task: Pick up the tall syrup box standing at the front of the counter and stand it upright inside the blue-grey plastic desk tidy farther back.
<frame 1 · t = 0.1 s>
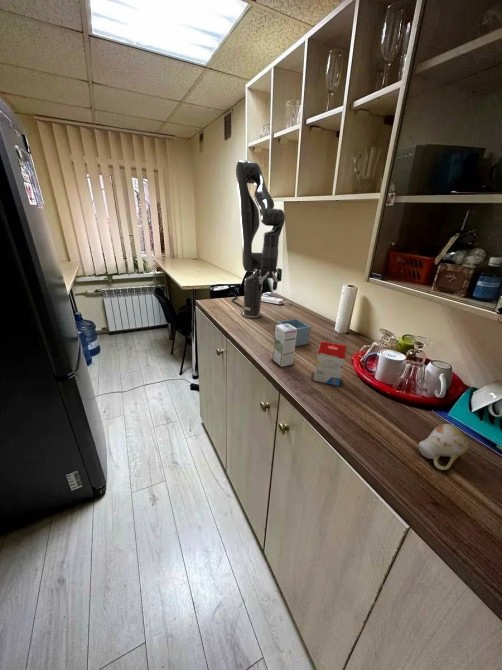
hand: (266, 290, 132), 17 cm above the table, tool pointing down, fingers open, 8 cm apart
mug: (437, 455, 65), on the table
ink box: (326, 380, 93), on the table
tidy: (291, 340, 121), on the table
syrup box: (282, 362, 102), on the table
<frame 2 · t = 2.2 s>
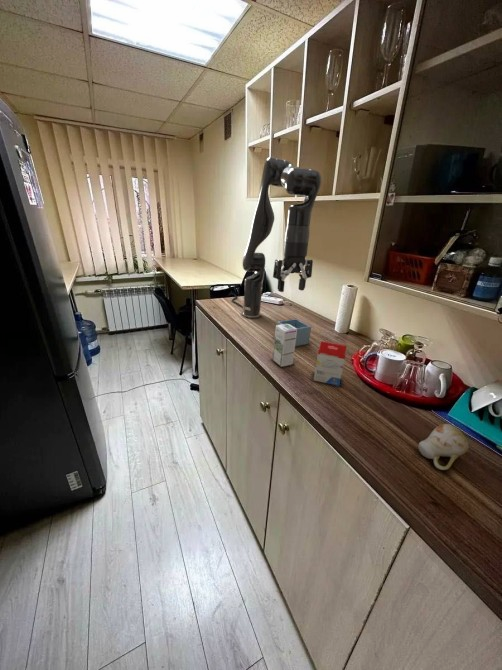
hand: (291, 290, 93), 27 cm above the table, tool pointing down, fingers open, 8 cm apart
nothing on the table moved.
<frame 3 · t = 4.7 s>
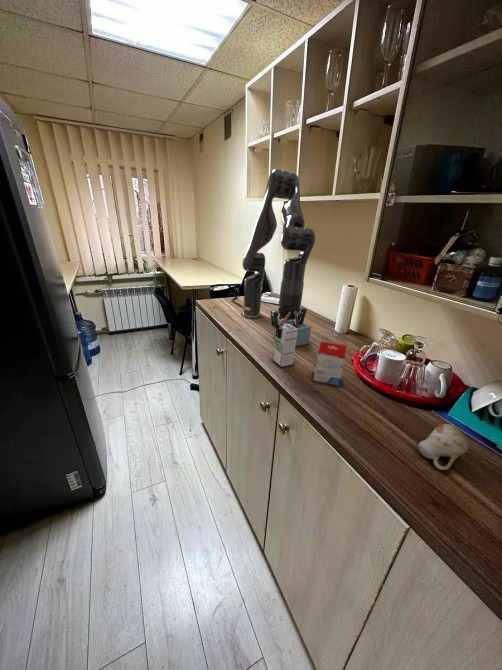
hand: (285, 336, 98), 11 cm above the table, tool pointing down, fingers closed on syrup box, 5 cm apart
syrup box: (282, 362, 102), on the table, touching gripper
everything else where it was.
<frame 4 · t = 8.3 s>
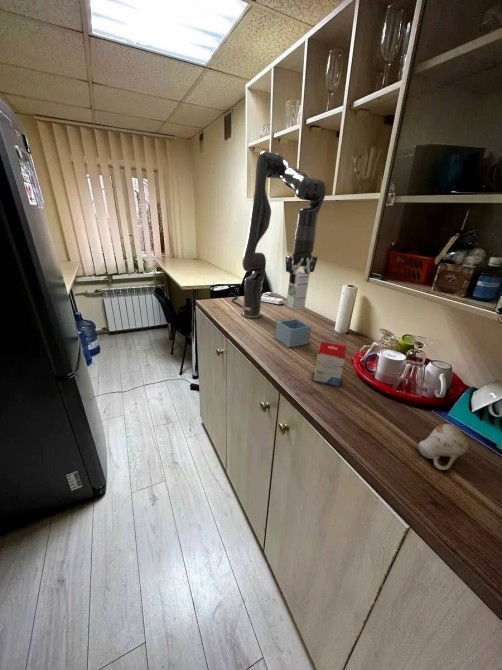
hand: (298, 282, 109), 26 cm above the table, tool pointing down, fingers closed on syrup box, 5 cm apart
syrup box: (294, 308, 114), point 16 cm above the table, touching gripper
everything else where it was.
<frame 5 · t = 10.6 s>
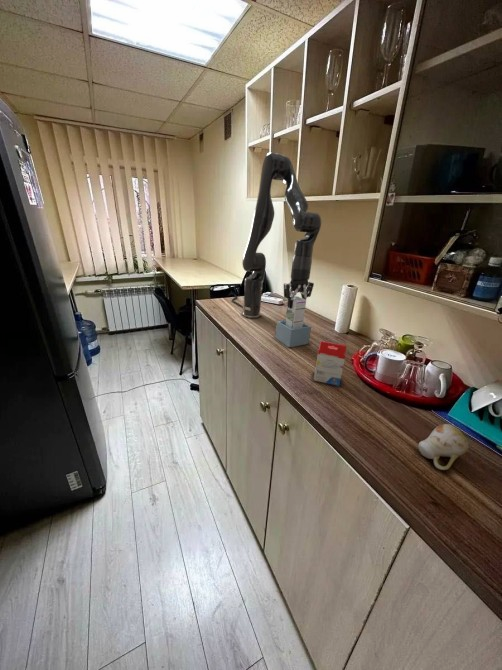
hand: (296, 307, 115), 16 cm above the table, tool pointing down, fingers closed on syrup box, 5 cm apart
syrup box: (292, 330, 119), point 5 cm above the table, touching gripper
everything else where it was.
when the fingers open (12 cm above the table, at t = 12.3 s): syrup box stays where it is, resting on tidy.
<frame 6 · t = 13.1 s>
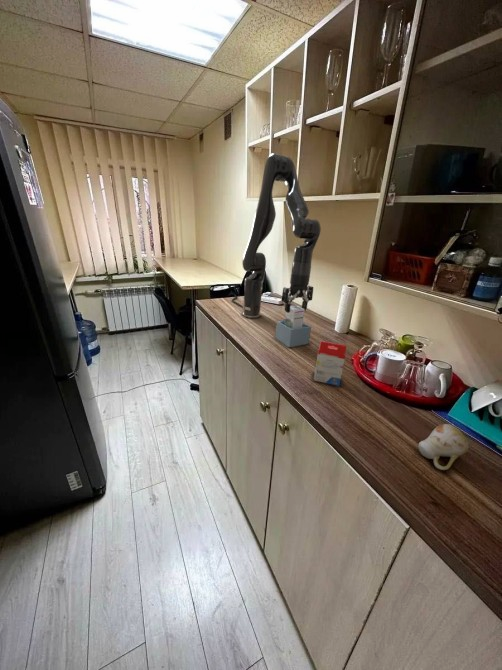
hand: (295, 311, 116), 14 cm above the table, tool pointing down, fingers open, 8 cm apart
syrup box: (291, 339, 121), point 1 cm above the table, touching tidy
everything else where it was.
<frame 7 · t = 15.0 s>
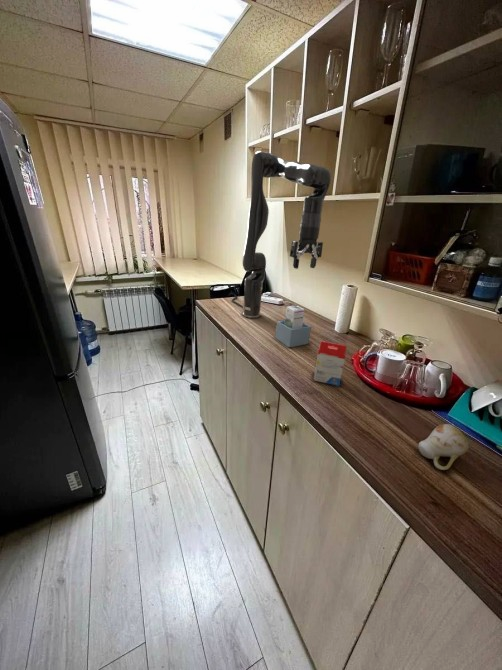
hand: (304, 268, 112), 31 cm above the table, tool pointing down, fingers open, 8 cm apart
nothing on the table moved.
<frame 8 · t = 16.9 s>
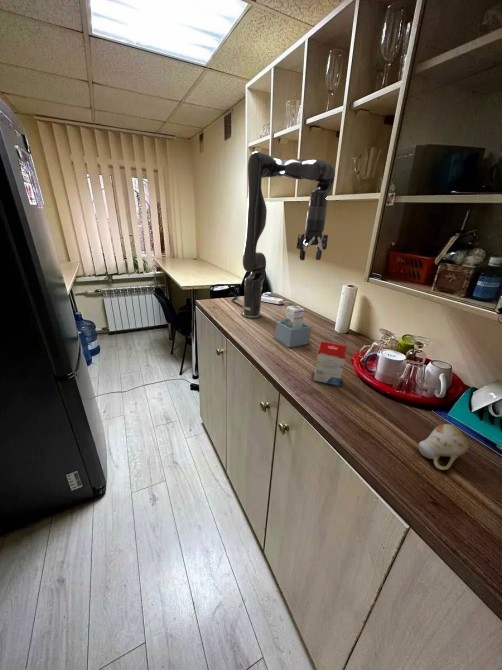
hand: (310, 259, 116), 34 cm above the table, tool pointing down, fingers open, 8 cm apart
nothing on the table moved.
at the end: syrup box inside the target area in the tidy (0.1 cm from its centre), point 0.8 cm above the tidy's base; syrup box tilted 0°; the gripper is holding nothing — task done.
